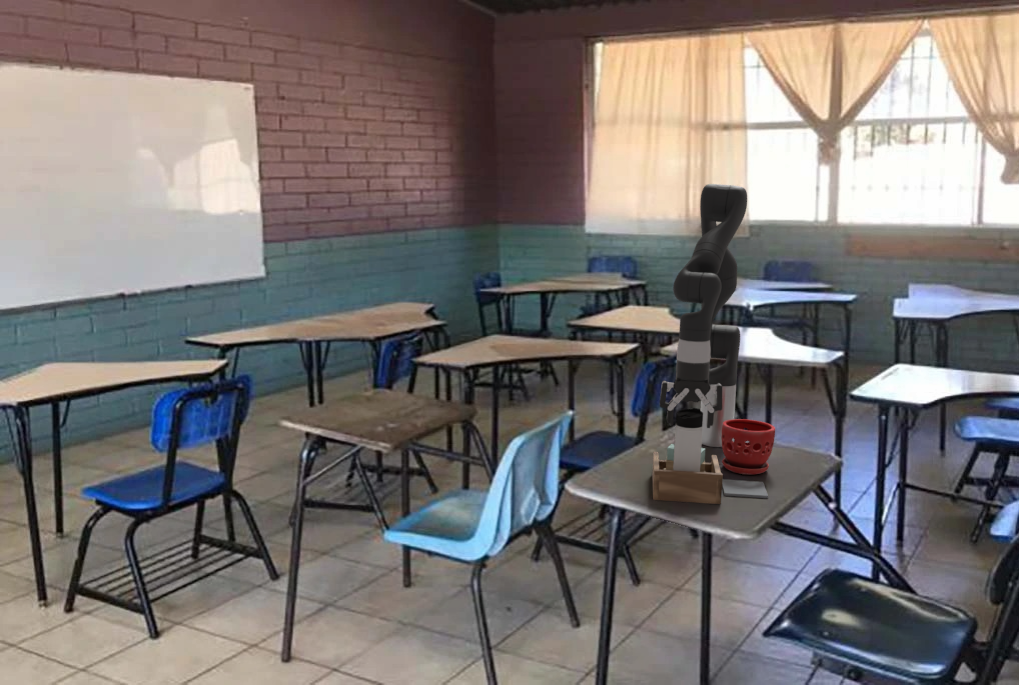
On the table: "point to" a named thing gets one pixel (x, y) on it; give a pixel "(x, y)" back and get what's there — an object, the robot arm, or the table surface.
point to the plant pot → (747, 445)
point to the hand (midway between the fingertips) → (689, 426)
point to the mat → (744, 488)
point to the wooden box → (687, 483)
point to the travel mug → (688, 440)
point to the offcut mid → (670, 465)
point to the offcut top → (671, 453)
